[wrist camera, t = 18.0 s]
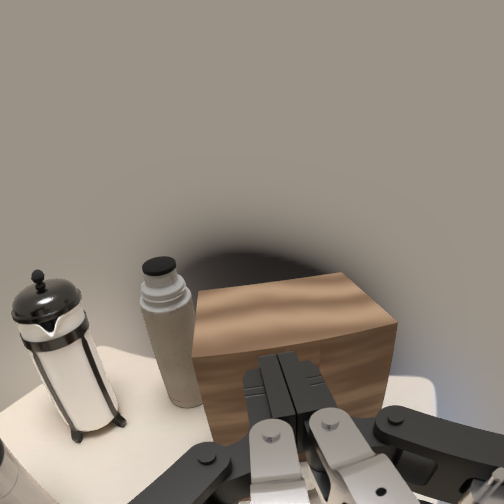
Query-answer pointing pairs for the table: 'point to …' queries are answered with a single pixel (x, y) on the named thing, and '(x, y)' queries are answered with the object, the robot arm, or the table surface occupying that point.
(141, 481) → the table surface
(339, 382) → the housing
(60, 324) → the coffee press
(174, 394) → the thermos bottle
